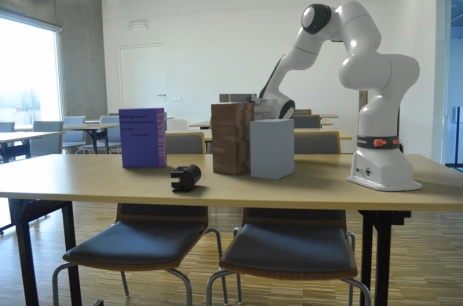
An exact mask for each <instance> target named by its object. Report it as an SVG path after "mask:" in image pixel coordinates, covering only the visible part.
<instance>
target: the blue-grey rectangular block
mask: <svg viewBox="0 0 463 306" xmlns="http://www.w3.org/2000/svg"><path fill="white" fill-rule="evenodd" d="M250 151H251V170H250V177H251V178H261V179H269V180H279V179H281V178H283V177H286V176H288V175H290V174H293V173H294V172H295V119H293V118H290V119H265V120H258V121H250Z"/></svg>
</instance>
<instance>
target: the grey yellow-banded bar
mask: <svg viewBox="0 0 463 306" xmlns="http://www.w3.org/2000/svg"><path fill="white" fill-rule="evenodd" d="M250 95H254V96H255V97H258V96H257V95H258V94H257V93H219V95H218V96H219V97H218V98H219V104H227V103H232V102H251V100H250V99H249V97H250Z"/></svg>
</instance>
